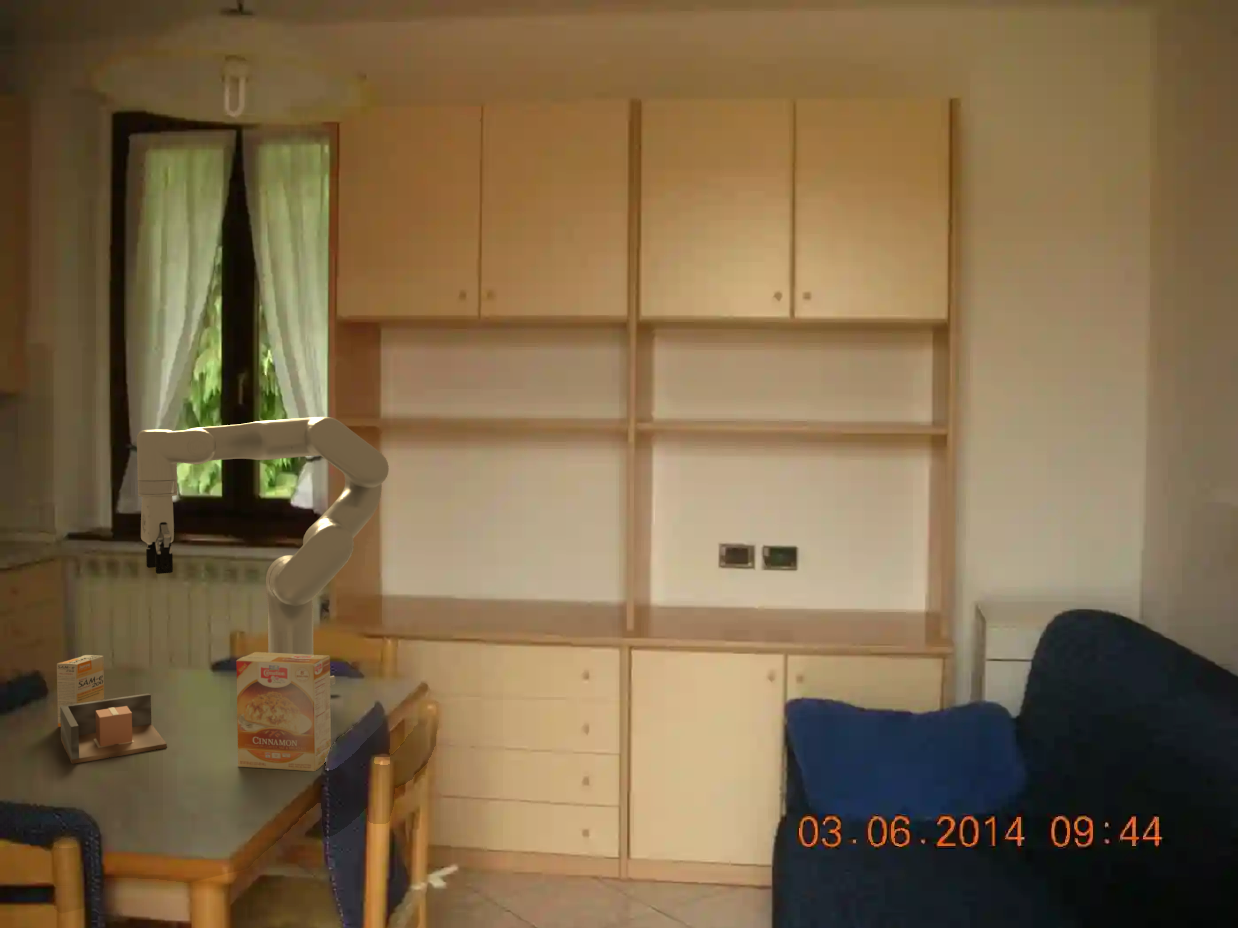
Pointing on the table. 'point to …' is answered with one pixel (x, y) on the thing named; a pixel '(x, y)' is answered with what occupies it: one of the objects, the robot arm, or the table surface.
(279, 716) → the coffeecake box
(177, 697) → the table surface
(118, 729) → the cube
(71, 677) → the supplement box
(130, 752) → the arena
